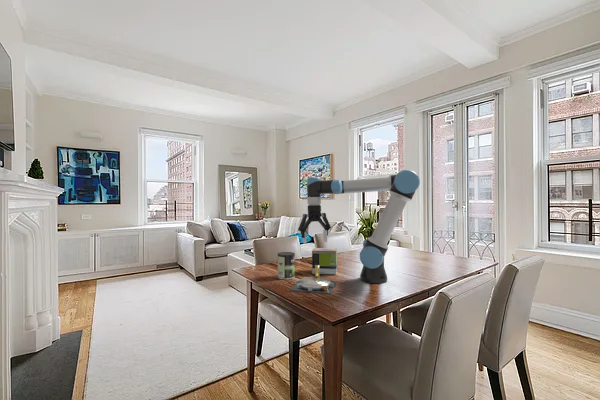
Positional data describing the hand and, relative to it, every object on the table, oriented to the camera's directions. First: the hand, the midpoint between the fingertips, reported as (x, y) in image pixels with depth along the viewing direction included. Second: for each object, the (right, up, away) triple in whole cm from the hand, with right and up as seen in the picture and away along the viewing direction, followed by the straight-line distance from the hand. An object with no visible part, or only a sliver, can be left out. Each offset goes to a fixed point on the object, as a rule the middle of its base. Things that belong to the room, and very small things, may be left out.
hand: (315, 242), depth 166 cm
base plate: (-1, -22, -9) cm, 24 cm away
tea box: (+7, -22, +20) cm, 30 cm away
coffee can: (-17, -22, +9) cm, 29 cm away
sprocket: (-1, -22, -9) cm, 24 cm away
